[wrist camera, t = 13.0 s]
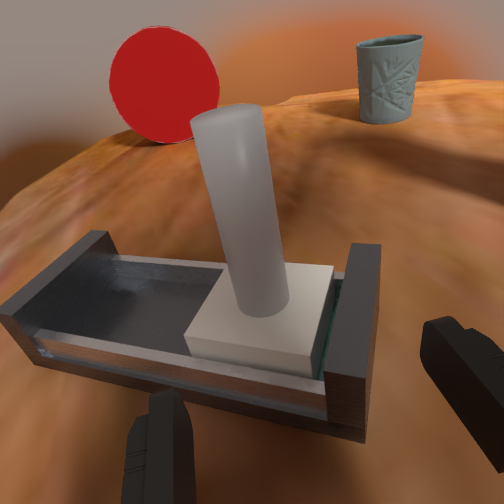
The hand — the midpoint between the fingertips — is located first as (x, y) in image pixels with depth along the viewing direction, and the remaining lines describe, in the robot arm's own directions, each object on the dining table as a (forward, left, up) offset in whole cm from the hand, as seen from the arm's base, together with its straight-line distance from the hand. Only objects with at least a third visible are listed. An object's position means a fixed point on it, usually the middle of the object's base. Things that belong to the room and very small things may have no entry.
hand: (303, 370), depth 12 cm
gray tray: (-10, -11, -12) cm, 19 cm away
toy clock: (-59, -40, -12) cm, 72 cm away
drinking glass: (-64, 0, -12) cm, 65 cm away
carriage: (-10, -6, -10) cm, 15 cm away
